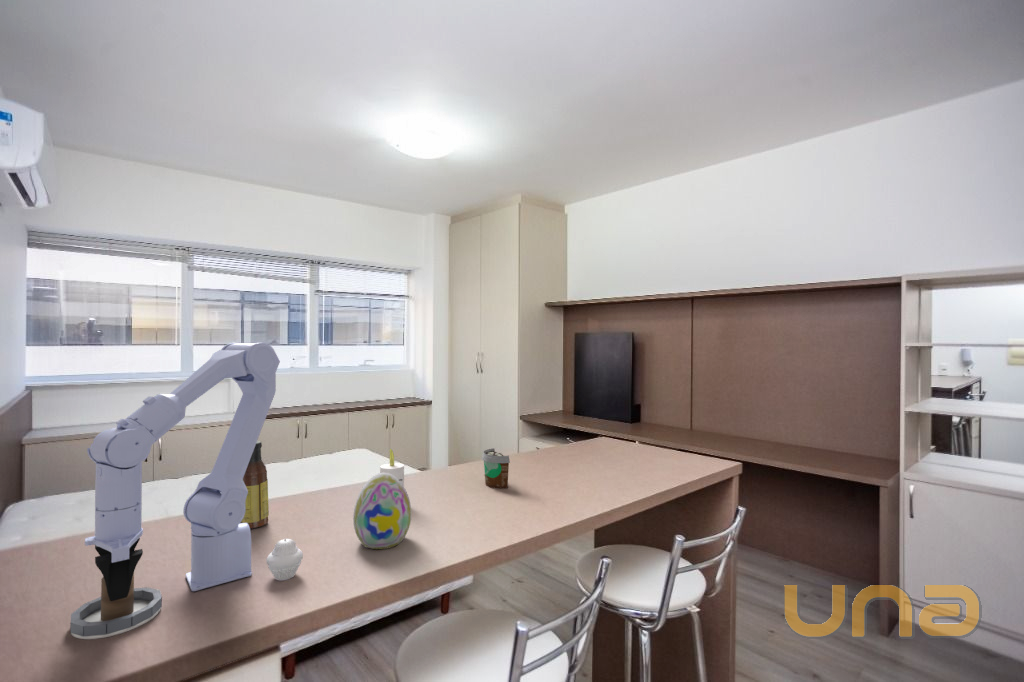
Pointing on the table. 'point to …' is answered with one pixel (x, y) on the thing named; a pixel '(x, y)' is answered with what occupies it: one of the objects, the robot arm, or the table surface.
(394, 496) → the decorative egg
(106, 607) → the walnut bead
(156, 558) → the table surface
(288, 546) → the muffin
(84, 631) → the ring dish
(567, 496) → the table surface
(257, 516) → the sauce bottle
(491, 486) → the food container
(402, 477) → the candle
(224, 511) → the robot arm
